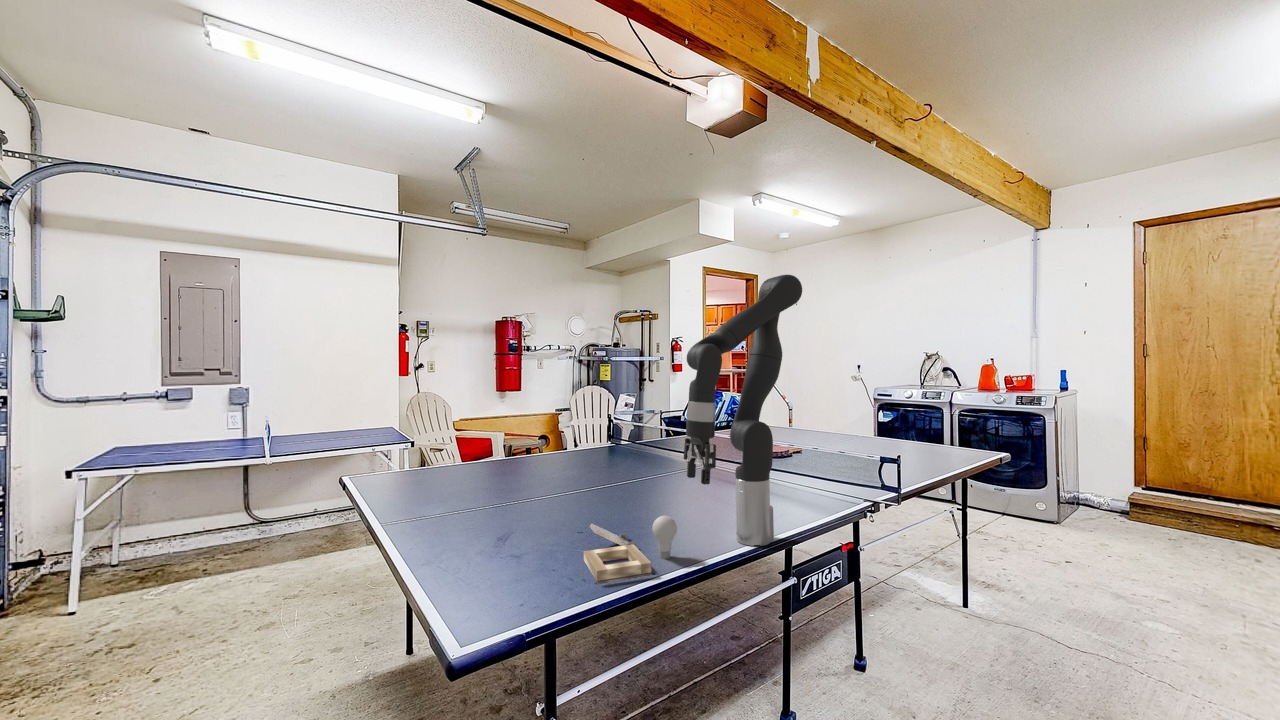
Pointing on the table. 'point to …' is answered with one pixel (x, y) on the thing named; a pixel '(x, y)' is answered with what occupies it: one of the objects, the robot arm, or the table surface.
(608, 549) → the socket
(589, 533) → the table surface
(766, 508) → the robot arm
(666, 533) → the lightbulb
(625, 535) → the keeper bracket
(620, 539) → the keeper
